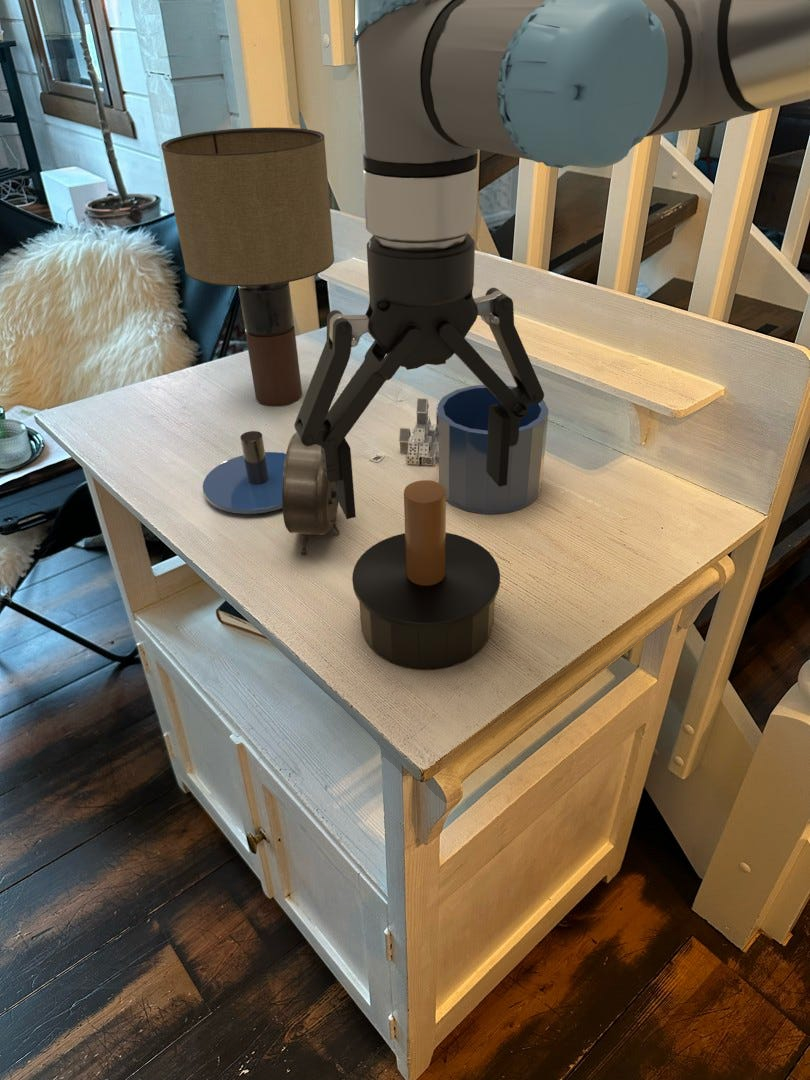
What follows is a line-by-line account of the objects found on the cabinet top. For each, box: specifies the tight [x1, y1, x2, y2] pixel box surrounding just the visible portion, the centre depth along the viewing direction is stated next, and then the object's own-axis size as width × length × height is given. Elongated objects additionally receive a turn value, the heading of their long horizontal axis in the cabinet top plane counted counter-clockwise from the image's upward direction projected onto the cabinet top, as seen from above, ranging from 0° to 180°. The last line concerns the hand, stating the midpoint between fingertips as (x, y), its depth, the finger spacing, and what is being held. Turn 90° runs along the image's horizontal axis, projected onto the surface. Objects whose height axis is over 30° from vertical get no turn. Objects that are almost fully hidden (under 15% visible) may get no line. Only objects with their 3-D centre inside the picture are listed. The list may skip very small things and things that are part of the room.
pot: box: [435, 384, 549, 515], centre depth 90 cm, size 13×13×10 cm
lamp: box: [160, 127, 335, 407], centre depth 105 cm, size 20×20×35 cm
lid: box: [351, 479, 501, 629], centre depth 67 cm, size 14×14×10 cm
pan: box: [358, 598, 496, 671], centre depth 72 cm, size 13×13×6 cm
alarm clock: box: [281, 431, 341, 556], centre depth 81 cm, size 11×5×16 cm, turn 174°
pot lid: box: [202, 430, 286, 515], centre depth 92 cm, size 14×14×7 cm
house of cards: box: [369, 397, 437, 467], centre depth 99 cm, size 9×9×8 cm
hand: (423, 494), depth 65 cm, fingers open, 13 cm apart
